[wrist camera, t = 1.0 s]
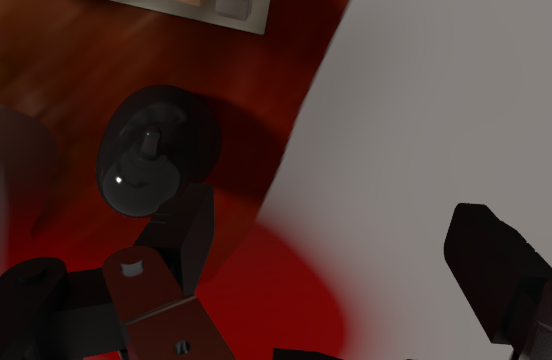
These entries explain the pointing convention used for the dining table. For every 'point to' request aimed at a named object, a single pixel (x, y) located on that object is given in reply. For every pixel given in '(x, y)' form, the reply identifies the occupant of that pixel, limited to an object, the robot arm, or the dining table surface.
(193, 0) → the tan stepped block
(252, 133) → the dining table surface
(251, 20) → the grey rail mechanism
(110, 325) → the robot arm
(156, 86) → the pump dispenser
